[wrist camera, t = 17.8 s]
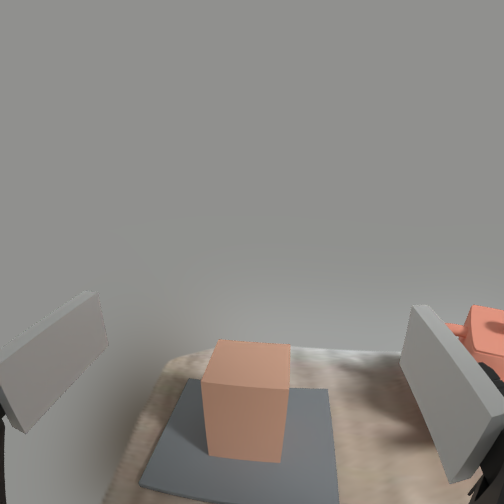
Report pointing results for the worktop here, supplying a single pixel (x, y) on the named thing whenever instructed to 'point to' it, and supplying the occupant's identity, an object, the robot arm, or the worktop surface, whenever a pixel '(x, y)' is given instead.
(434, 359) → the robot arm
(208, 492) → the mat
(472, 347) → the teapot
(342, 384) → the worktop surface
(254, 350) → the block
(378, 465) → the worktop surface
